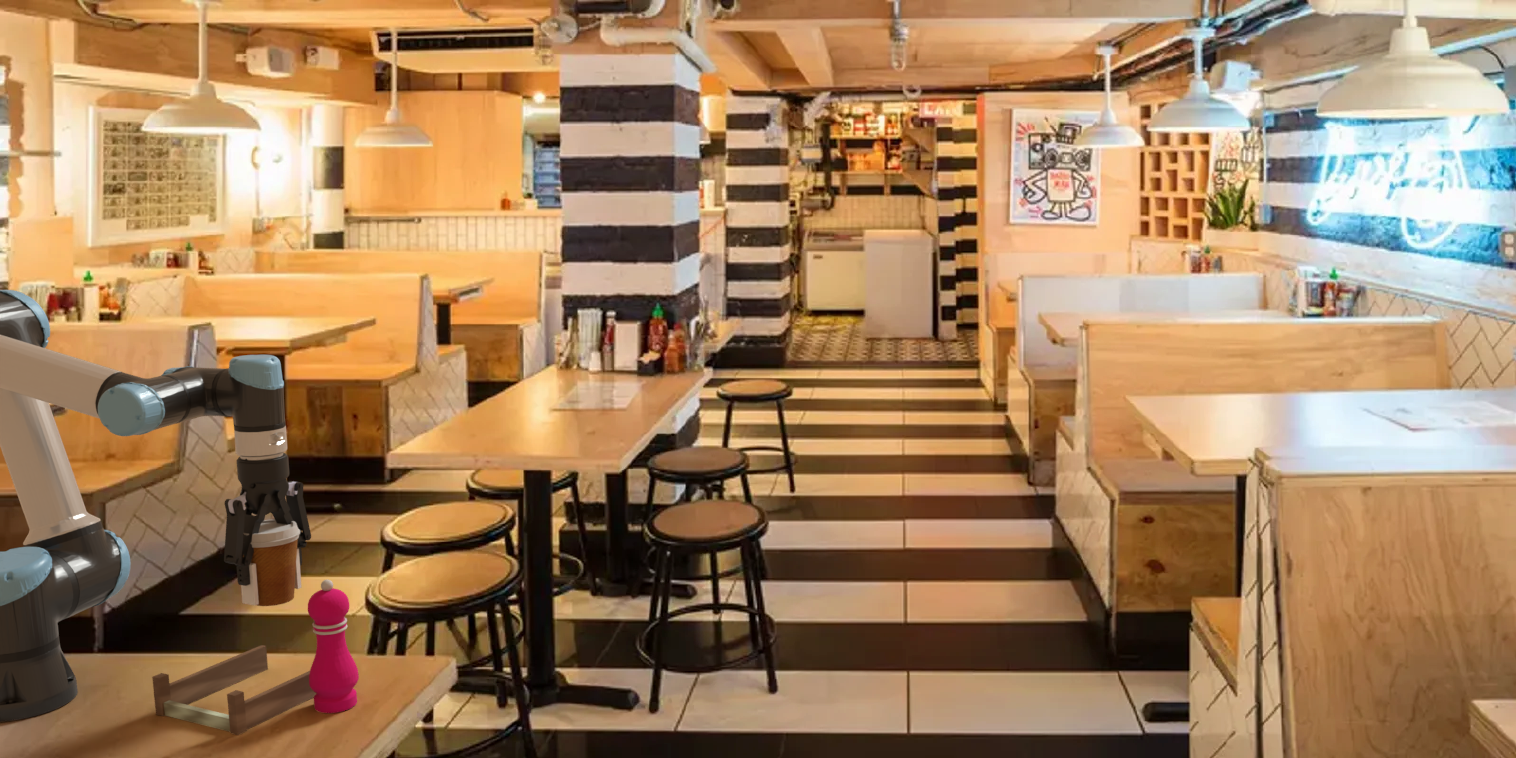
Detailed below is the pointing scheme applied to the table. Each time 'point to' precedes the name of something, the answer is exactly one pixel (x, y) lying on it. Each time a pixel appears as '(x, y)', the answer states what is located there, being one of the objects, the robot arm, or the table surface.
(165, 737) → the table surface
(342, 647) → the pepper mill
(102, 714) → the table surface
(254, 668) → the bay
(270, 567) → the disposable coffee cup
